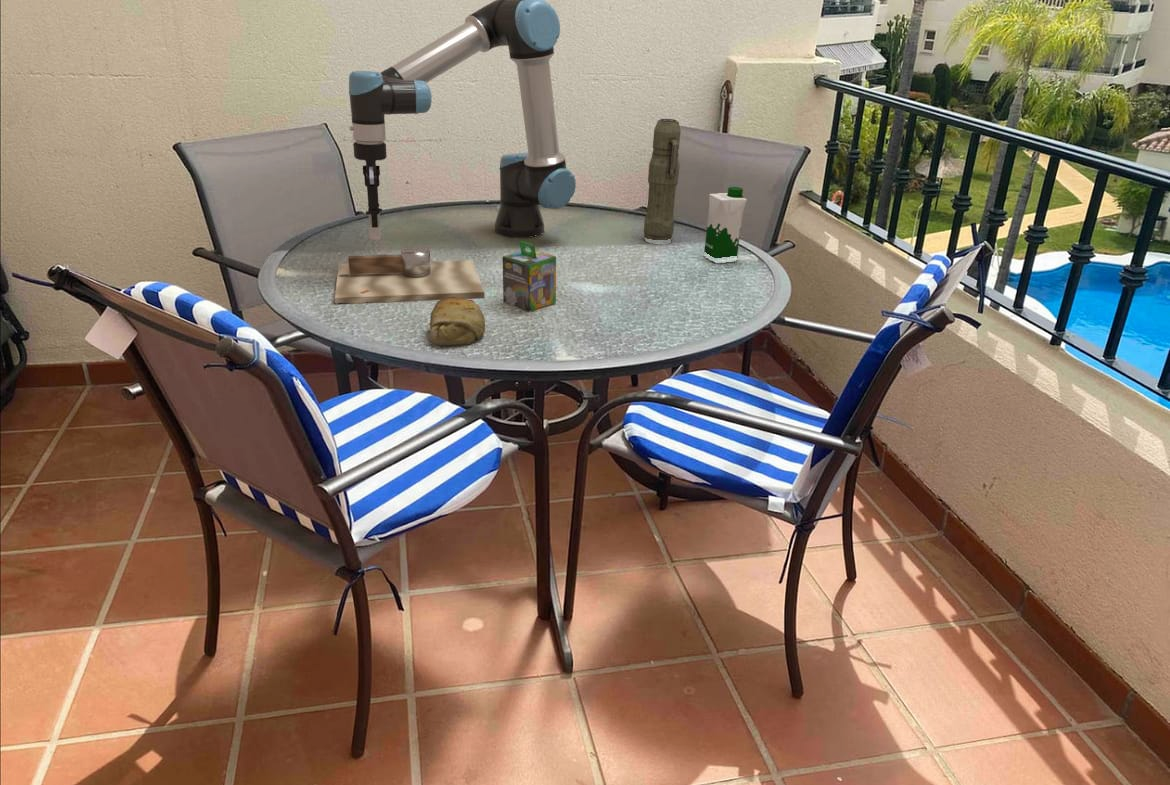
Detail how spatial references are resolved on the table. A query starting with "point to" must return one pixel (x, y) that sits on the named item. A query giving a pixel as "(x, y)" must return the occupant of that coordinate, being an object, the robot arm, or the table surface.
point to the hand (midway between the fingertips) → (375, 238)
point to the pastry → (456, 322)
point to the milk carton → (724, 223)
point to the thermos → (662, 180)
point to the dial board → (410, 284)
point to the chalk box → (529, 278)
